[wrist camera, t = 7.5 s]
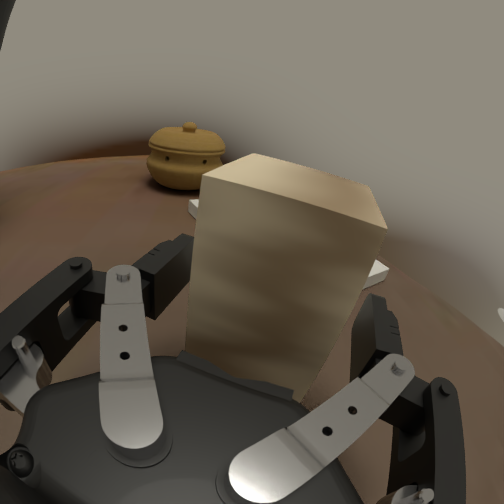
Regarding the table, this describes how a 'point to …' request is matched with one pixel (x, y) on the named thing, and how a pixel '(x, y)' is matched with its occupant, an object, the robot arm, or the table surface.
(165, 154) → the pot
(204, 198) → the birch column
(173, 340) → the table surface
